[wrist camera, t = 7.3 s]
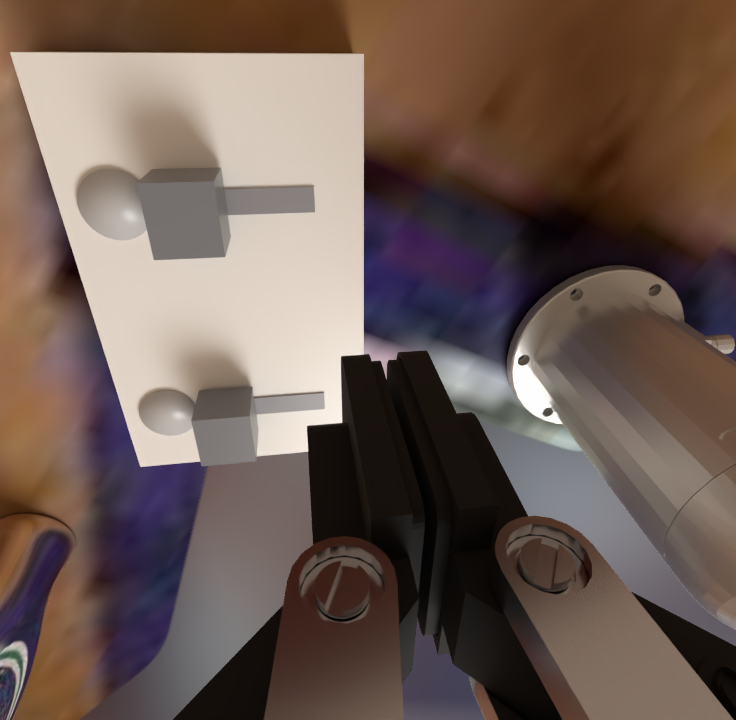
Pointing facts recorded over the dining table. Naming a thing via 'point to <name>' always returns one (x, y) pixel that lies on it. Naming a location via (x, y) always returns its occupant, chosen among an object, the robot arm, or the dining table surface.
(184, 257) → the front switch
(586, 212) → the dining table surface
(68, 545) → the beer glass
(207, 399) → the back switch
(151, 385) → the switch panel
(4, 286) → the dining table surface
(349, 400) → the robot arm
